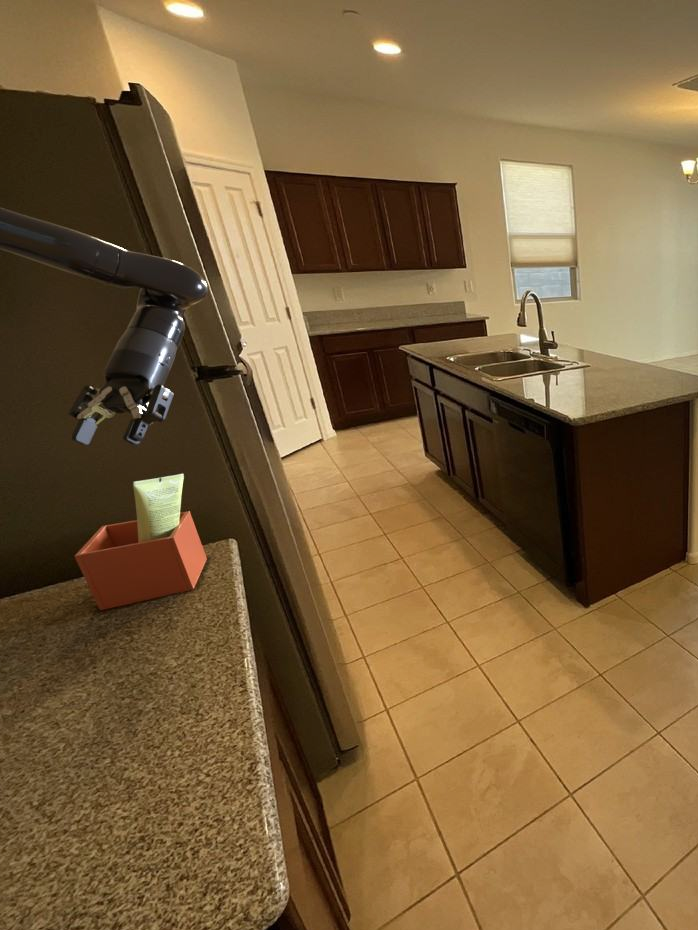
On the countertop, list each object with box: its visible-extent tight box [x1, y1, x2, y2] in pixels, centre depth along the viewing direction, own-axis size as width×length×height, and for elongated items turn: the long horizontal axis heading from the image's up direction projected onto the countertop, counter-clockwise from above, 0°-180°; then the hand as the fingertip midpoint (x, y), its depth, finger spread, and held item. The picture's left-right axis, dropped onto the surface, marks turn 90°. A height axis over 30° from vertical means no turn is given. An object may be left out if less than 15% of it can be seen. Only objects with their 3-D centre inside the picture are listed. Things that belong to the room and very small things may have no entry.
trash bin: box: [74, 510, 208, 611], centre depth 92 cm, size 12×12×11 cm
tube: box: [132, 473, 185, 543], centre depth 91 cm, size 6×5×20 cm
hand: (105, 442), depth 85 cm, fingers open, 8 cm apart
